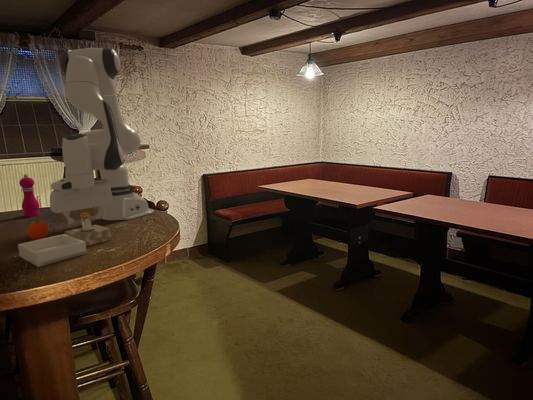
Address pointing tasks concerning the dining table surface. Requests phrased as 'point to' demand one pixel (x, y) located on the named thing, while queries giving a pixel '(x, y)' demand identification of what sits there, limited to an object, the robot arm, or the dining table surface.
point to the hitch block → (91, 235)
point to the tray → (51, 249)
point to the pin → (86, 222)
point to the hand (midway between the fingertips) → (85, 221)
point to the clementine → (37, 230)
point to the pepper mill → (29, 197)
